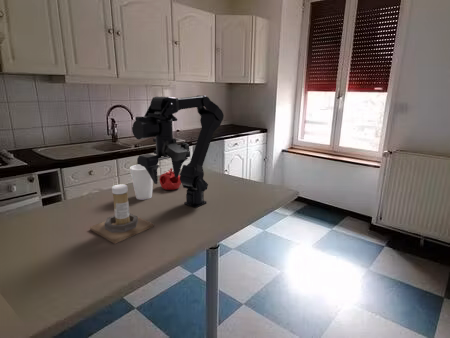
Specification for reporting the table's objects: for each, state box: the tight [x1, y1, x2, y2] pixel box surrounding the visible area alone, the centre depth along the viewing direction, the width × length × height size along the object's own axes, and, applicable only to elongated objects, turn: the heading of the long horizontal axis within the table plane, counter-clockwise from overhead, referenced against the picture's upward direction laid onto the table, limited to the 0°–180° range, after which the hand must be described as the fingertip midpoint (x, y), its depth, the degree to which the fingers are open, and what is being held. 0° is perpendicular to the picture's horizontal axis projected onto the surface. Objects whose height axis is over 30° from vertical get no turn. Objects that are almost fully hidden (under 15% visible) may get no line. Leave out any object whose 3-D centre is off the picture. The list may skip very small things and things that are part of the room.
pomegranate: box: [159, 167, 182, 191], centre depth 131 cm, size 10×10×9 cm
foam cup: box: [129, 164, 154, 201], centre depth 119 cm, size 10×9×13 cm
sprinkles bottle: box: [111, 183, 130, 225], centre depth 91 cm, size 5×5×13 cm
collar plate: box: [89, 212, 154, 244], centre depth 93 cm, size 14×14×3 cm
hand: (166, 180), depth 100 cm, fingers open, 9 cm apart
